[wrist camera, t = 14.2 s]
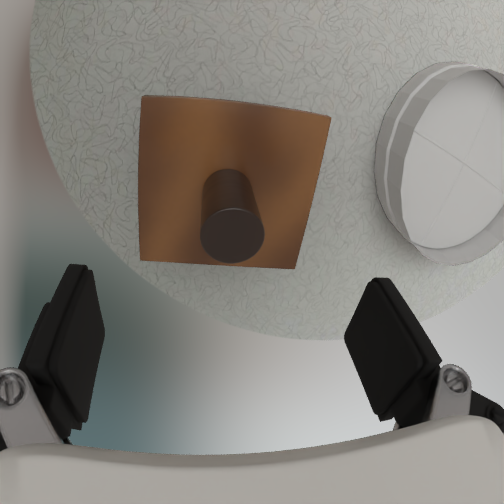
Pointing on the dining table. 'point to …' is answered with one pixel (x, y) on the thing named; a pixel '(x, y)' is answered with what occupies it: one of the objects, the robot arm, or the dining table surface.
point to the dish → (445, 162)
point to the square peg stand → (226, 180)
